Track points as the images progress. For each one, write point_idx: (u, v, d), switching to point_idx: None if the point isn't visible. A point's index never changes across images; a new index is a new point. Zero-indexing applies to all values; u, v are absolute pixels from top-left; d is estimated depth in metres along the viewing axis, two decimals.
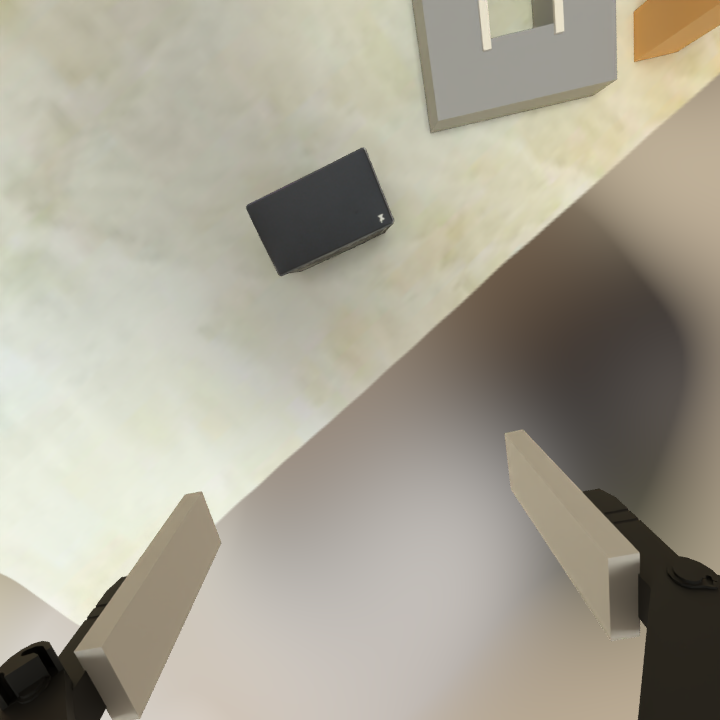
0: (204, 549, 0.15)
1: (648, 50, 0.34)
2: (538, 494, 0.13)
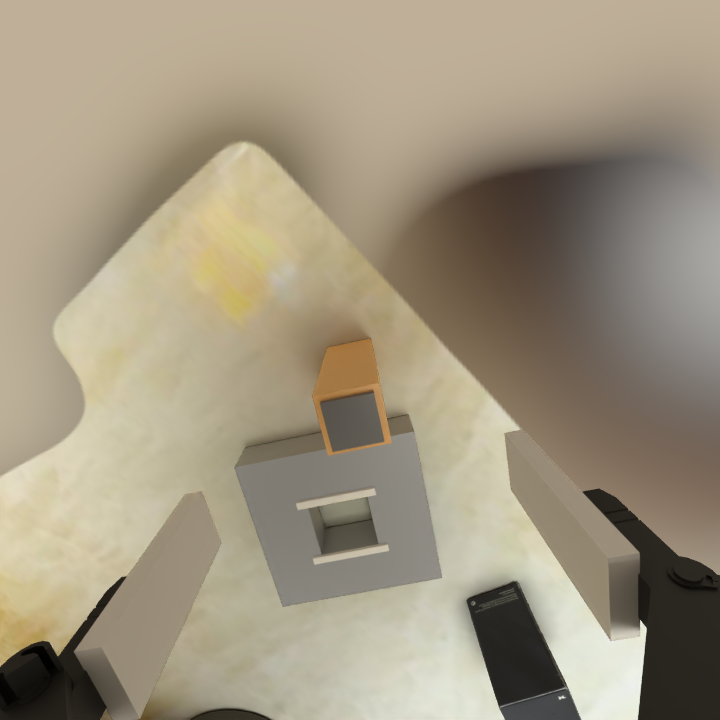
0: (204, 549, 0.15)
1: None
2: (538, 494, 0.13)
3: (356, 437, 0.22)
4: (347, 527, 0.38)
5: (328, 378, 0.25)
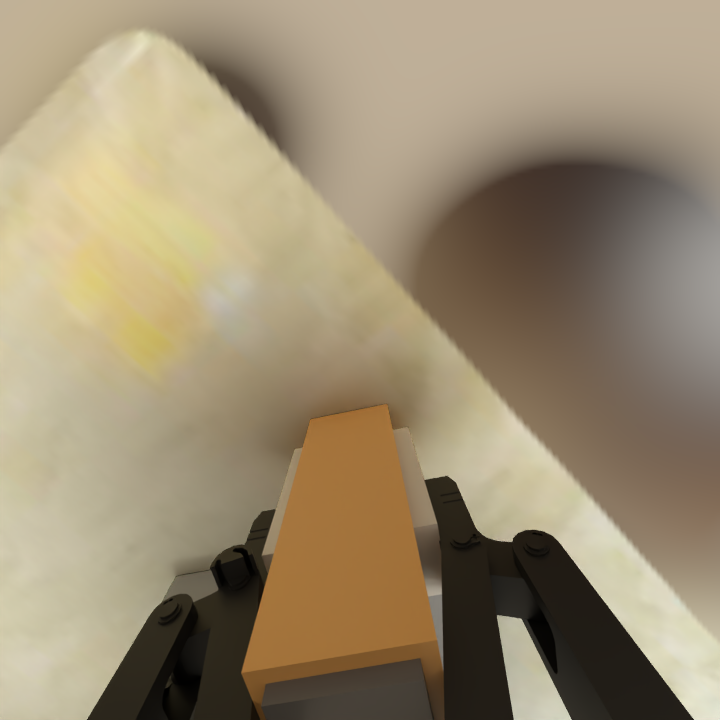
0: None
1: None
2: None
3: None
4: None
5: (299, 555, 0.10)
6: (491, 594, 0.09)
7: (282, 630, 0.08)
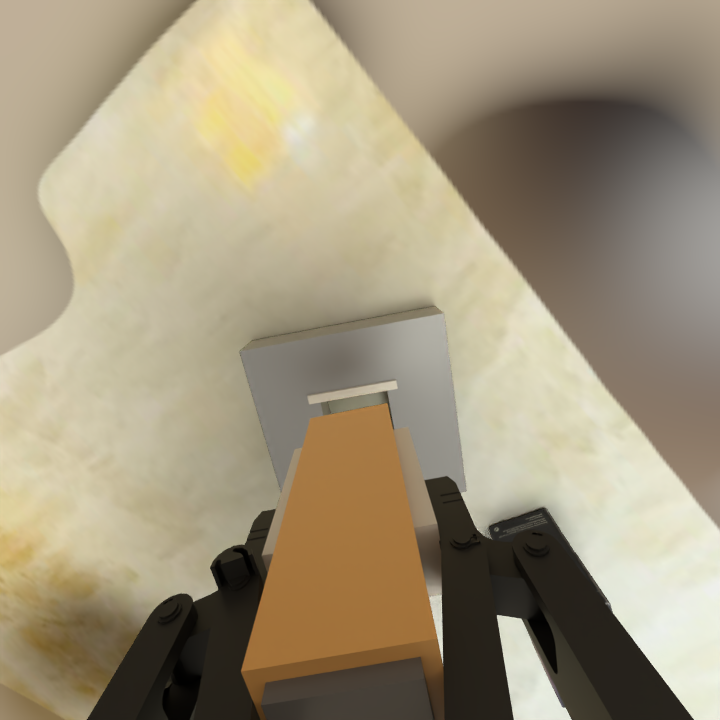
0: None
1: None
2: None
3: None
4: None
5: (299, 553, 0.10)
6: (491, 594, 0.09)
7: (282, 629, 0.08)
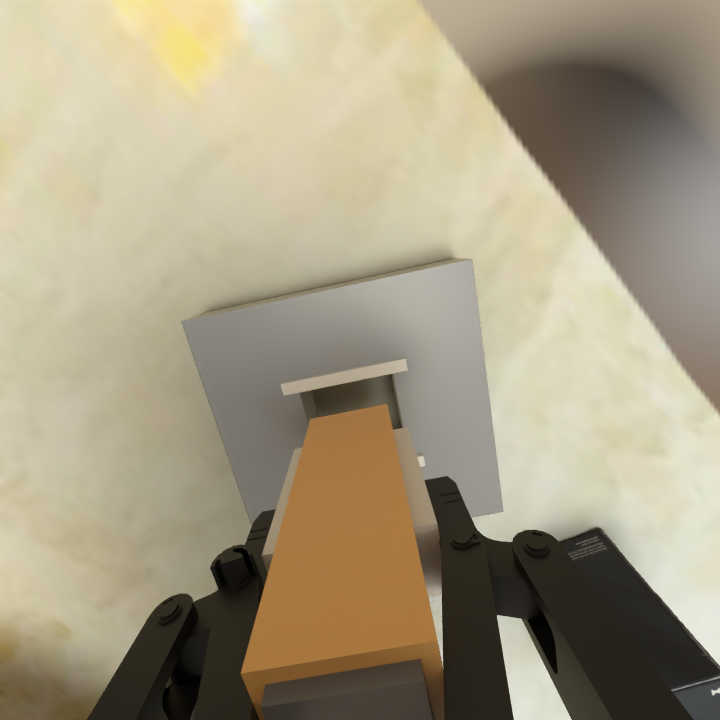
0: None
1: None
2: None
3: None
4: None
5: (299, 555, 0.10)
6: (491, 594, 0.09)
7: (282, 631, 0.08)
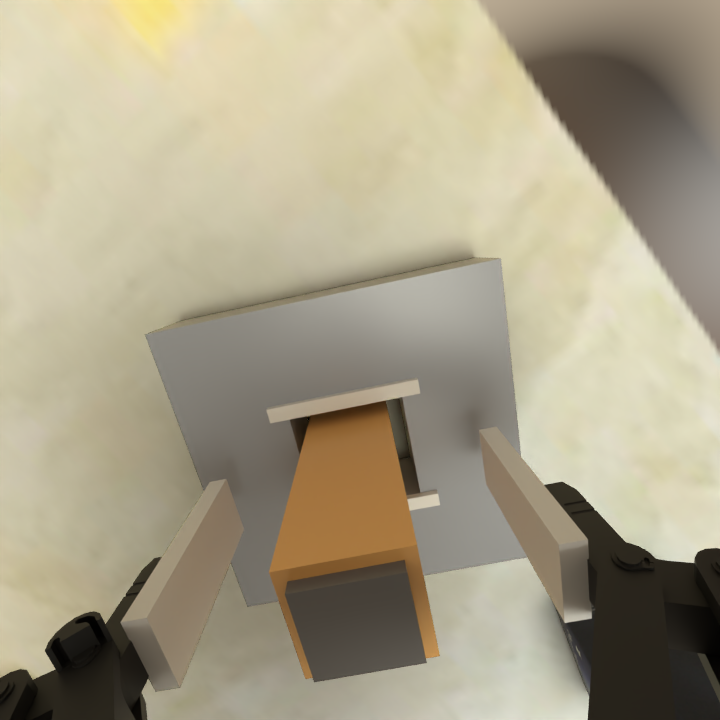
0: (229, 534, 0.16)
1: None
2: (506, 487, 0.13)
3: (365, 655, 0.10)
4: None
5: (309, 498, 0.13)
6: (664, 634, 0.07)
7: (298, 545, 0.11)
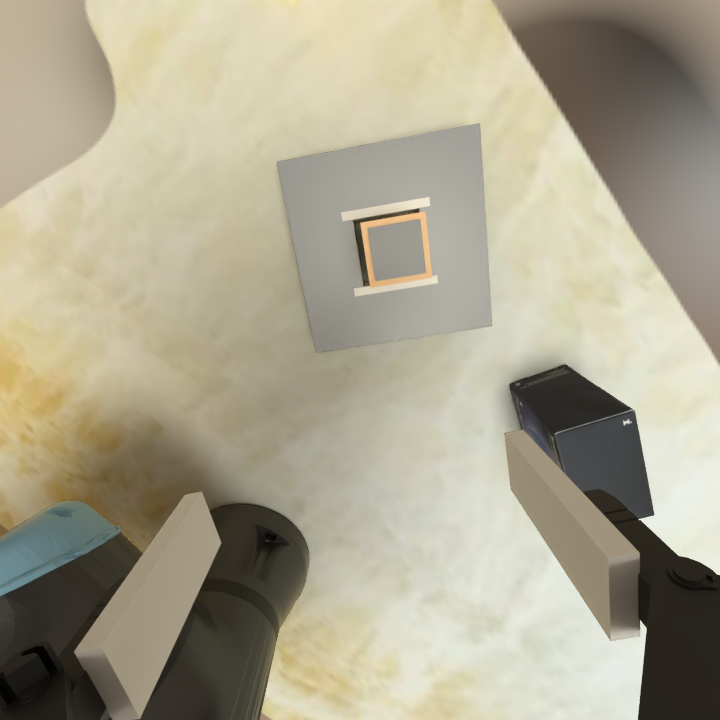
0: (204, 549, 0.15)
1: None
2: (538, 494, 0.13)
3: (399, 266, 0.23)
4: None
5: None
6: None
7: None
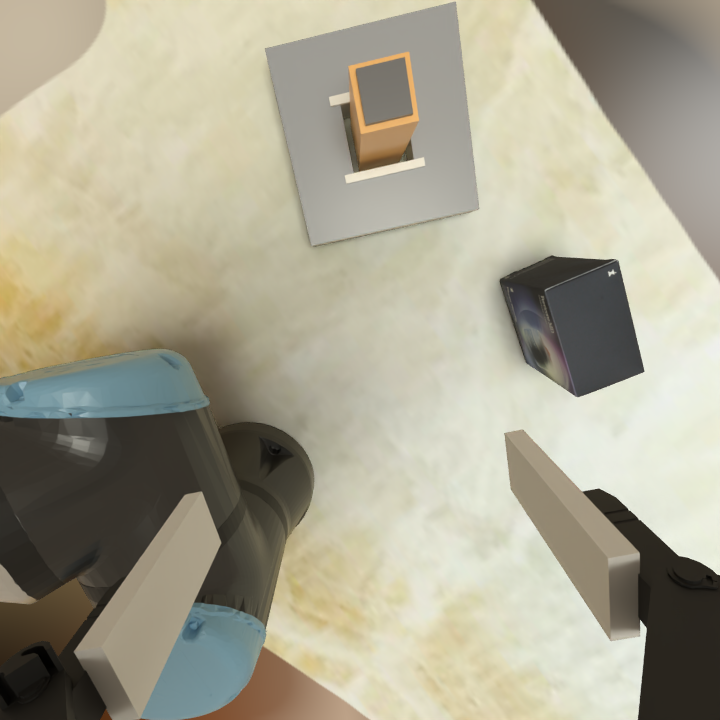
0: (204, 549, 0.15)
1: (400, 158, 0.35)
2: (538, 494, 0.13)
3: (387, 107, 0.25)
4: None
5: None
6: None
7: None
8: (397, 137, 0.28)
